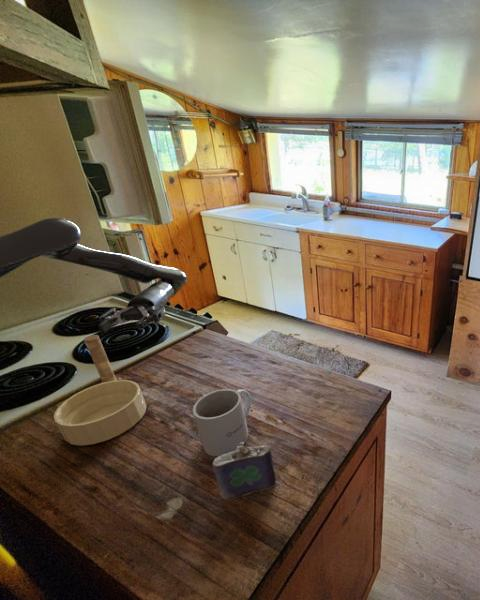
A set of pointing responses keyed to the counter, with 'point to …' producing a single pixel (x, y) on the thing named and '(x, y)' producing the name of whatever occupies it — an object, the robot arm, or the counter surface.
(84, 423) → the bowl
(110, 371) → the stick
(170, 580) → the counter surface
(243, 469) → the flask
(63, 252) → the robot arm
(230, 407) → the mug
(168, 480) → the counter surface
